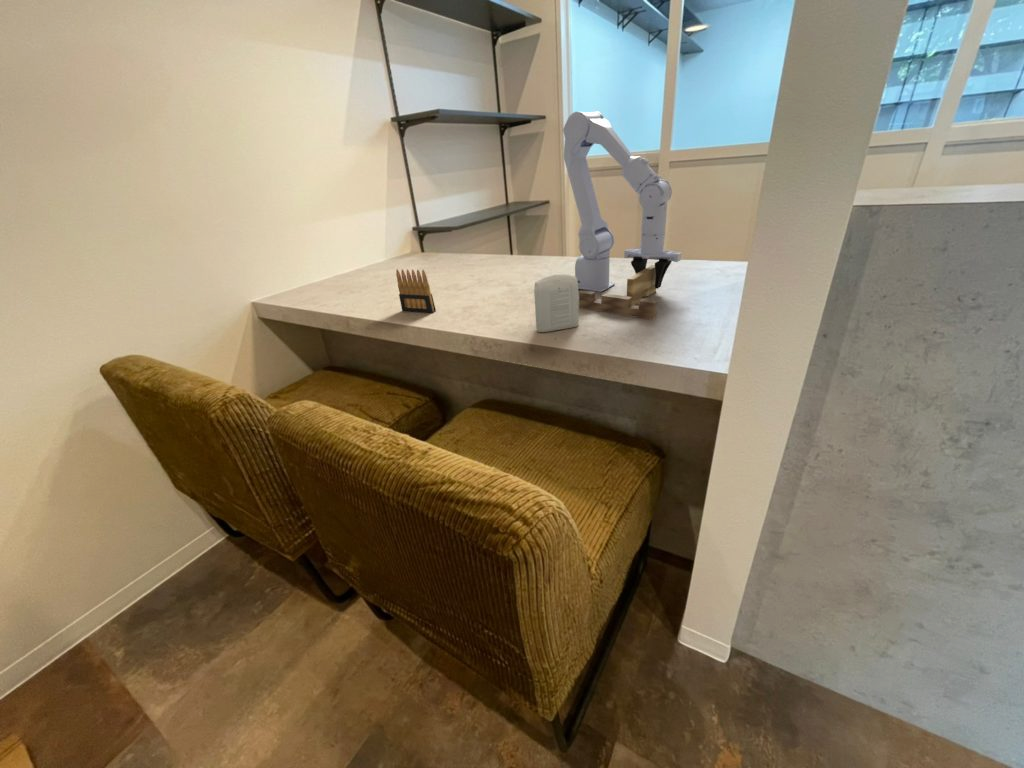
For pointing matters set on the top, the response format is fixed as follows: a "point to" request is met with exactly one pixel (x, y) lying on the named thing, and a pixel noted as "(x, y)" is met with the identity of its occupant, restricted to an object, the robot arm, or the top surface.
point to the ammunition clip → (415, 292)
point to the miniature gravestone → (556, 303)
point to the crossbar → (641, 284)
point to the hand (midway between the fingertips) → (649, 286)
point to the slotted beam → (618, 305)
